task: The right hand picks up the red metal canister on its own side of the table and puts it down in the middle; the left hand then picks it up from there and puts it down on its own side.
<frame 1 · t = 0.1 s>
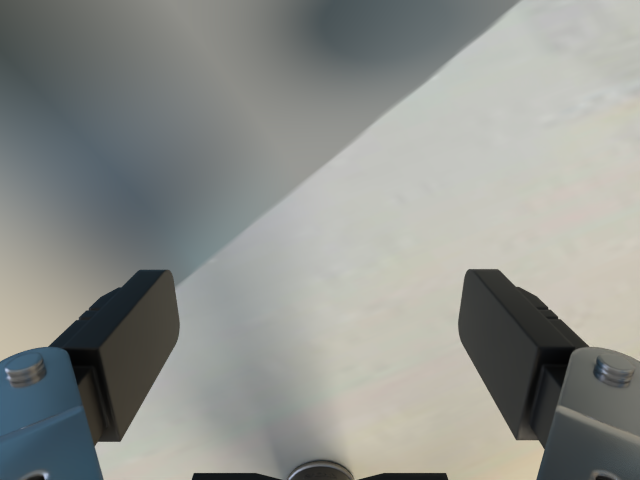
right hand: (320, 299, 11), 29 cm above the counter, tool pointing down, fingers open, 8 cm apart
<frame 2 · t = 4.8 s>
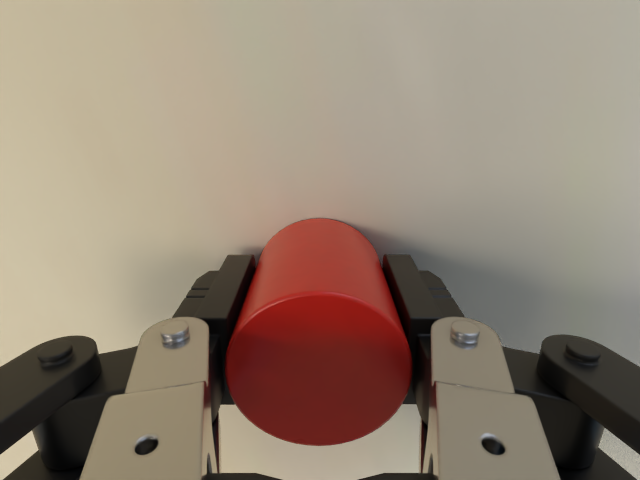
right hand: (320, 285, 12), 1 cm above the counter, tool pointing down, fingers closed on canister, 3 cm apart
canister: (319, 276, 12), on the counter, touching right hand
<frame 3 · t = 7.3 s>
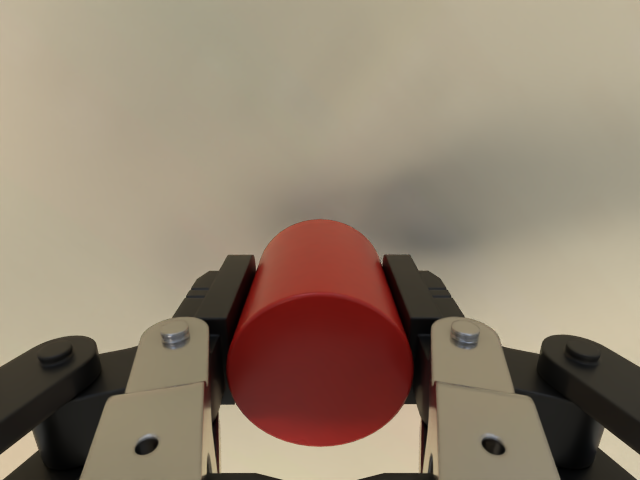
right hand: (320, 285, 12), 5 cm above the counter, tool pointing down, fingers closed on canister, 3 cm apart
canister: (320, 277, 12), point 4 cm above the counter, touching right hand
when the right hand's fingers open (1 cm above the counter, at t = 9.7 s): canister stays where it is, on the counter.
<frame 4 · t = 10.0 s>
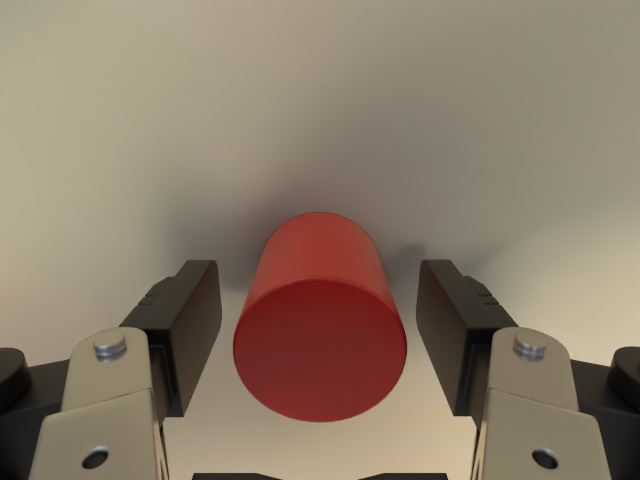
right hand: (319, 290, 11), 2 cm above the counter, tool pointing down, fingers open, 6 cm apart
canister: (319, 268, 13), on the counter
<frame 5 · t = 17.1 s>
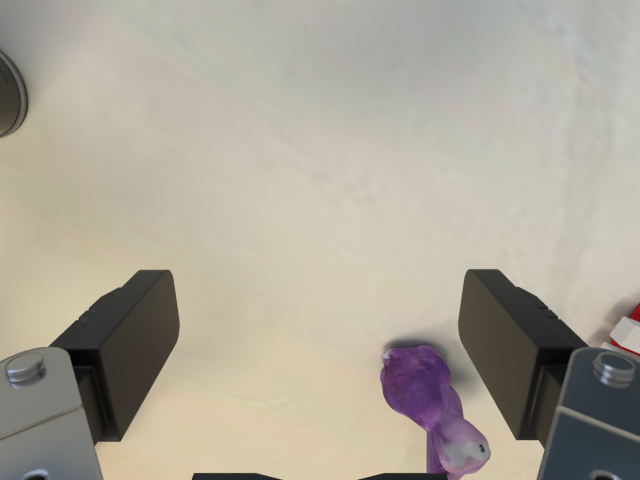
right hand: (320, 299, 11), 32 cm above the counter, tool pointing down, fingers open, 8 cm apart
figurine: (419, 368, 50), on the counter
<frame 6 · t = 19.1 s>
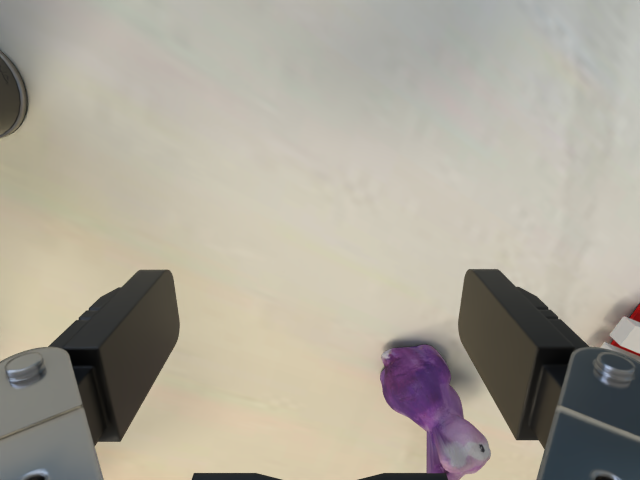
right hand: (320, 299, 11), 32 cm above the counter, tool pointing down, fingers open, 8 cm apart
figurine: (419, 368, 50), on the counter
when the left hand's fingers open (2 cm above the counter, at t = 21.2 s): canister stays where it is, on the counter.
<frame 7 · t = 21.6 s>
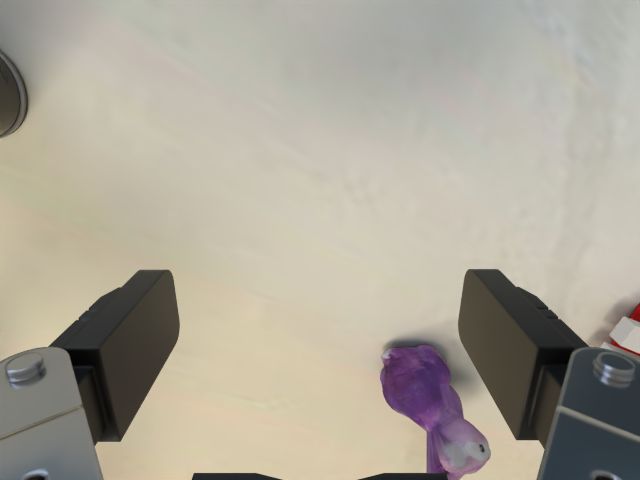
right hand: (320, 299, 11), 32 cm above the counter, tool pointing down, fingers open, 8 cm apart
figurine: (419, 368, 50), on the counter
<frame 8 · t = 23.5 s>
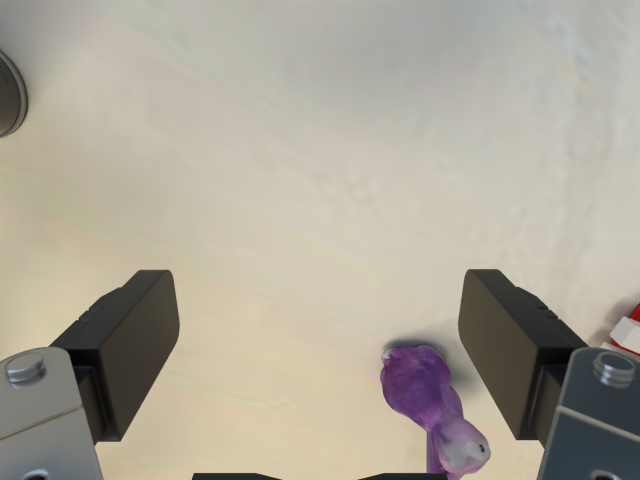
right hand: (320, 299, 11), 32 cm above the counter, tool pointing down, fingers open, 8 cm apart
figurine: (419, 368, 50), on the counter
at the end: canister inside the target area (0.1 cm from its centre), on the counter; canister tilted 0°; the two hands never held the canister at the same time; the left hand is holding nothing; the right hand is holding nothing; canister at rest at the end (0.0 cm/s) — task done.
